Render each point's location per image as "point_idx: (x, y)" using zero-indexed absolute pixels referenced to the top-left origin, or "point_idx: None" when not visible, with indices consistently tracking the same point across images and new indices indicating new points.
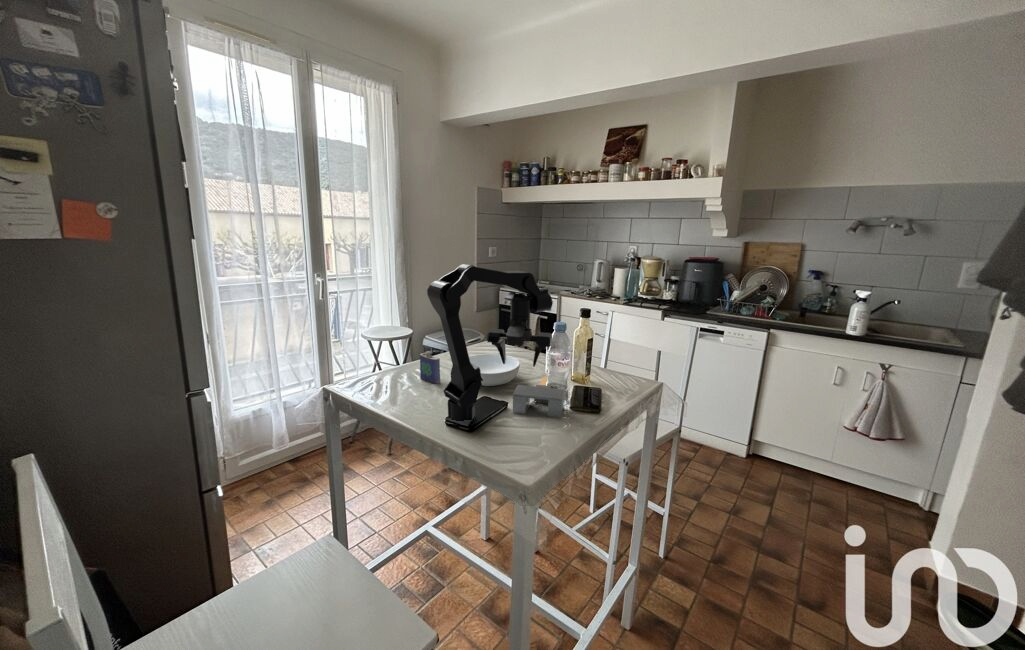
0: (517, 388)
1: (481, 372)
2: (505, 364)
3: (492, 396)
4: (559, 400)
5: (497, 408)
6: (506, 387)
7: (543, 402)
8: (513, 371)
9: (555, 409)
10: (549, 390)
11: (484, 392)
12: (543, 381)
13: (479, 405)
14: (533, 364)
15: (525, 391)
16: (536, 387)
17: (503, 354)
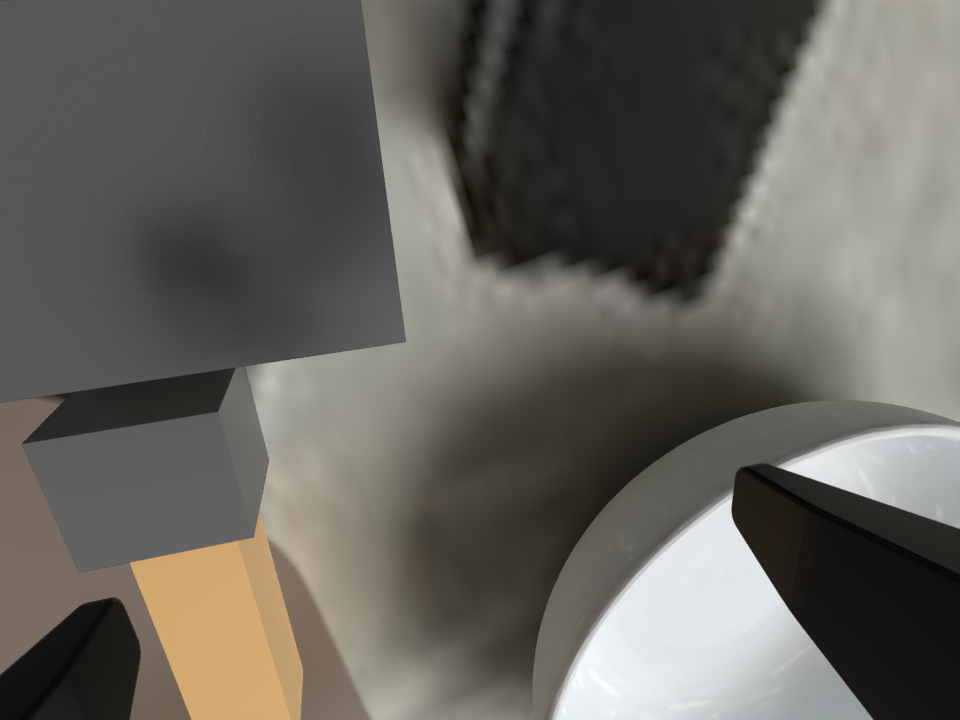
0: (368, 222)
1: (795, 622)
2: None
3: (631, 320)
4: None
5: (527, 91)
6: (566, 514)
7: None
8: (563, 640)
9: None
10: None
11: (707, 364)
12: (249, 662)
13: (697, 101)
14: (81, 633)
15: (213, 152)
16: (124, 353)
17: (952, 589)
